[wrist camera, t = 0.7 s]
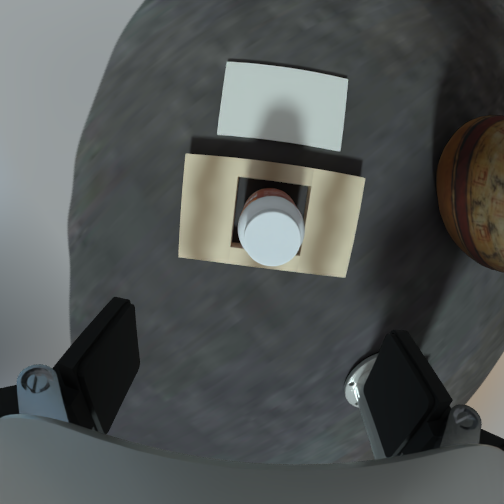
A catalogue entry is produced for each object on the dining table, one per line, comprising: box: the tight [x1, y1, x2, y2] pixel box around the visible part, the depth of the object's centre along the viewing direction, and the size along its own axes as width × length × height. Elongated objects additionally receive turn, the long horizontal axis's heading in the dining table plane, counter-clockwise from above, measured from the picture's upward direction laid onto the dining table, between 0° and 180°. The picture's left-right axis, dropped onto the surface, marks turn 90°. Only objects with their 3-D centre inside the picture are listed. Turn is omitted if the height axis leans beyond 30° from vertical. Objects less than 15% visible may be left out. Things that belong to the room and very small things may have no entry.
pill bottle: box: [238, 188, 305, 266], centre depth 29 cm, size 6×6×11 cm
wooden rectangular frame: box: [179, 154, 365, 278], centre depth 33 cm, size 20×12×2 cm, turn 83°
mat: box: [217, 62, 348, 151], centre depth 30 cm, size 14×9×1 cm, turn 83°
